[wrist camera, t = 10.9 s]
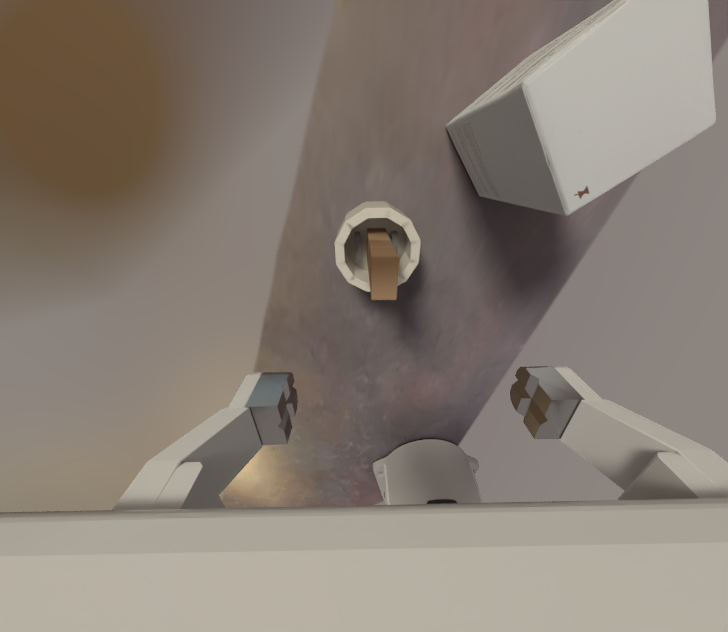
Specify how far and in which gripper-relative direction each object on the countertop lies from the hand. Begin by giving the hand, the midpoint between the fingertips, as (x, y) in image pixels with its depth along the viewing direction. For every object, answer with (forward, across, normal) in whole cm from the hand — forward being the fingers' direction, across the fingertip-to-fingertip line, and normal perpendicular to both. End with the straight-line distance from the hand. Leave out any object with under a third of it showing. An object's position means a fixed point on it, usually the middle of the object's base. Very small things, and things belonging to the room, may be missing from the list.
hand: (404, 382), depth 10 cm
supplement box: (+21, -11, -9) cm, 25 cm away
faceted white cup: (+21, 0, 0) cm, 21 cm away
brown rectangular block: (+20, 0, 0) cm, 20 cm away
